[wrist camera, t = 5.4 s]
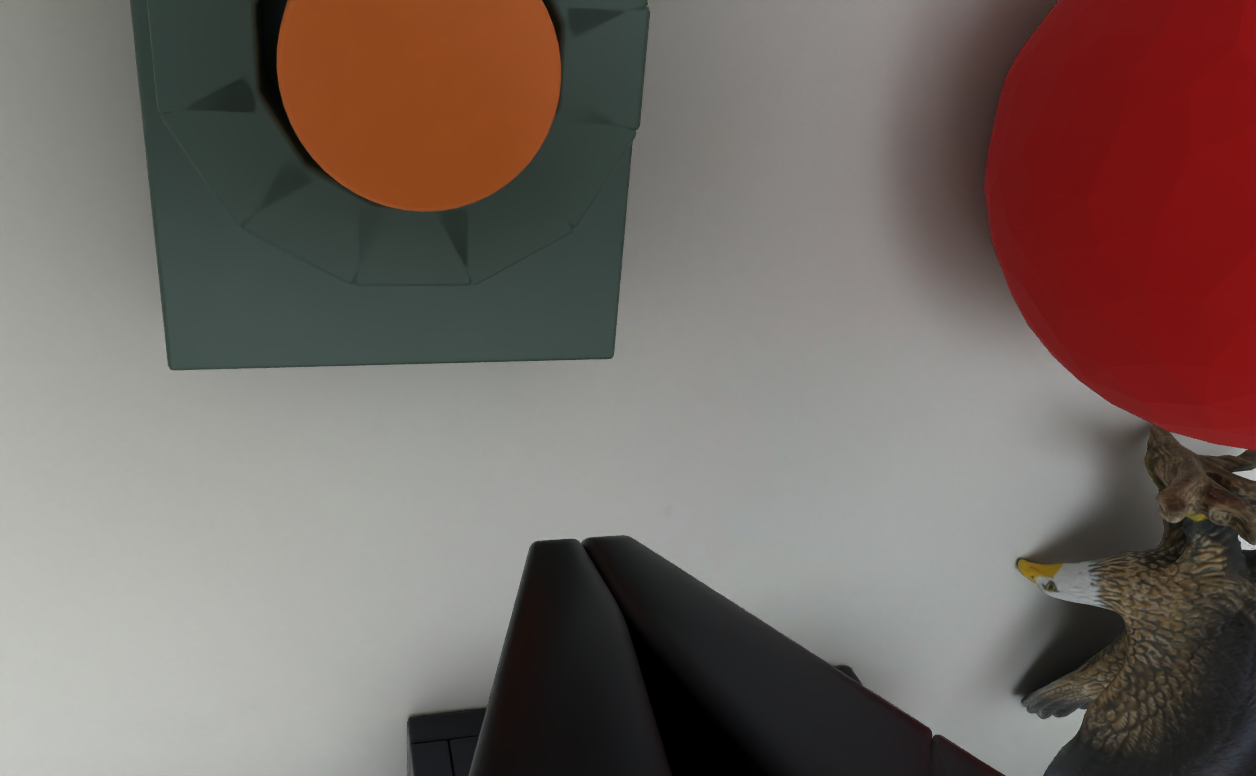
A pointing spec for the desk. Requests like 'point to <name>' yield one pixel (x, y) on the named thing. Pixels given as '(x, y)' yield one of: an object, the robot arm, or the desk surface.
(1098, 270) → the fruit
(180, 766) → the desk surface
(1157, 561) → the eagle figurine
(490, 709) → the robot arm
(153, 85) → the control block
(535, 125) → the button
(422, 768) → the black drawer cabinet
